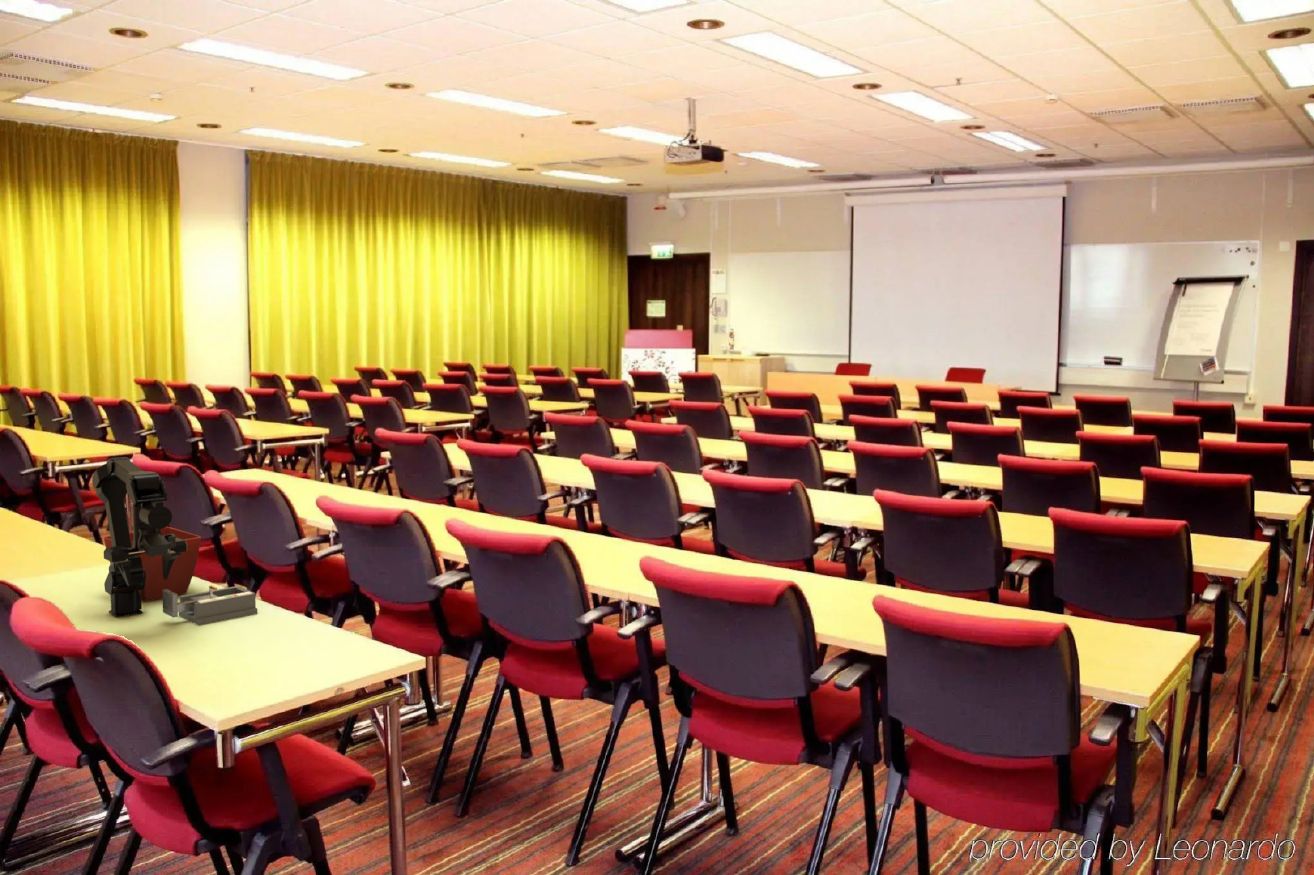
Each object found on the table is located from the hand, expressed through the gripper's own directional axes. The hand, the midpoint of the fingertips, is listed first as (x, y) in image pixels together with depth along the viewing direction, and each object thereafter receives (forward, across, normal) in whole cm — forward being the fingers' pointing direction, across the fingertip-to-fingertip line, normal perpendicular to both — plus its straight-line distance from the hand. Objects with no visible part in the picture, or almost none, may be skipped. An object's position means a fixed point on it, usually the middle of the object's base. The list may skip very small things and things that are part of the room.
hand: (147, 582), depth 265 cm
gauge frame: (+12, +18, 0) cm, 22 cm away
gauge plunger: (+10, +11, -1) cm, 15 cm away
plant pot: (+12, +14, +31) cm, 36 cm away
